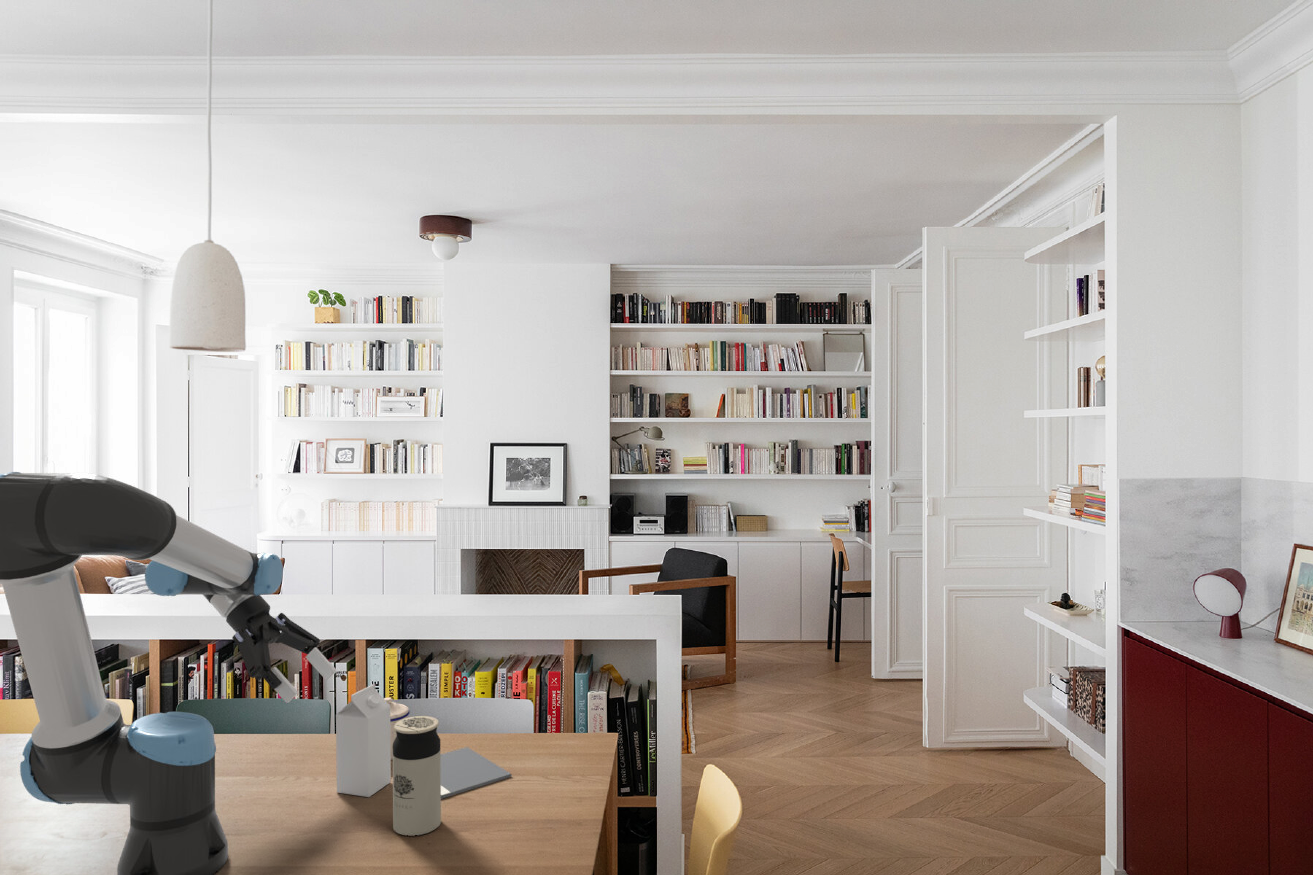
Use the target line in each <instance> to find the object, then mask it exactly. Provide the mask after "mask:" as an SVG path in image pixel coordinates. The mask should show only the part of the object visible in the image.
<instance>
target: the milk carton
mask: <svg viewBox="0 0 1313 875" xmlns="http://www.w3.org/2000/svg"><path fill="white" fill-rule="evenodd" d="M350 700H351V701H349V702H348V703H347V704H346V705H345V706H344V707H342V708H341V710H339V711H338V712H337V713H336V714H335V723H336V724H335V726H336V727H335V730H336V731H335V732H336V733H335V734H336V736H335V737H336V738H335V739H336V740H335V741H336V743H335V744H336V748H335V749H336V754H335V755H336V793H340V794H346V795H351V796H352V795H353V796H359V797H366V798H370V797H371V796H372V795H374V794H376V793H377V792H379V791H380V790H382V789H383V788H384V787H385V786H387V785H389V784H390V783H391V782H392V780H391V779H392V778H391V776H392V774H391V773H392V772H391V771H392V769H391V768H392V766H391V764H392V763H391V762H392V760H391V744H390V705H389V704H388V703H387V702H386V701H385V700H384V697H383V696H382V695H381V694H380V693H379V692H378V691H377V690H376V684H375V683H373V684H371V685H369V686H366V687H365V688H363V689H361V690H358V691H356V692H355V693H353V694H351V695H350Z"/></svg>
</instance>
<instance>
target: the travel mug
mask: <svg viewBox="0 0 1313 875" xmlns="http://www.w3.org/2000/svg"><path fill="white" fill-rule="evenodd" d="M439 725H440V722H439V720H438V719H437V718H435V717H433V716H427V715H421V716H419V715H418V716H417V715H416V716H410V717H409V716H408V718H405V719H402V720H400V721H398V722H397V723H396V724H395V725H394V729H395V730H396V734H397V737H396V738H395V740H394V742H393V760H392V828H393V831H394V832H395V833H397V834H400V835H403V836H407V835H408V836H409V837H414V836H415V835H417V836H421V835H425V834H428V833H431V832H432V831H434V830H436V829H437V828H438V827H440V825H441V822H442V821H441V820H442V812H441V811H442V802H441V801H442V799H441V755H440V754H441V737H440V736H439V734H438V732H437V730H438V727H439ZM415 837H416V836H415Z"/></svg>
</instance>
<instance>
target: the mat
mask: <svg viewBox="0 0 1313 875" xmlns="http://www.w3.org/2000/svg"><path fill="white" fill-rule="evenodd" d="M440 755H441V800H442V799H446V798H448V797H451V796H455V795H458V794H462V793H465V792H468V791H471V790H473V789H476V788H477V789H478V788H482V787H483V786H486V785H489V784H493V783H496V782H499V781H502V780H505V779H509V778H512V773H511V772H509V771H507V770H506V769H504V767H501V766H499V765H497V764H496V763H494V762H492V761H491V760H489V759H488V758H486V757H485V756H483V755H481V754H480V753H478V752H476V751H475V750H473V749H472V748H469V747H468V746H466V747H463V748H459V749H456V750H451V751H447V752H445V753H440Z"/></svg>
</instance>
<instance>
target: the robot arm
mask: <svg viewBox="0 0 1313 875" xmlns="http://www.w3.org/2000/svg"><path fill="white" fill-rule="evenodd" d="M83 556H115V557H117V556H118V557H123V558H126V559H129V560H131V561H146V560H151V561H150V562H149V563H148V564H147V567H146V568H145V572H144V581H145V584H146V586H147V589H149V591H150V592H151V593H153V594H154V595H157V596H161V597H169V596H170V597H175V596H180V595H202V596H203V597H204V598H205V599H206V600H207V602H208V603H209V604H211V605H212V606H213V608H215V610H216V611H217V613H218V614H220V616H221V617H222V618H225V621H226V623H227V624H228V625H229V626H230V627H231V628H232V629H233V631H234V632H235V634H233V636H232V640H233V642H234V643H235V644H236V645H237V647H238V649H239V653H240V654H241V657H242V659H243V660H242V661H243V663H244V666H245V668H246V671H247V673H248V676H249V677H250V678H251V679H254V678H255V680H257V681H261V680H262V679H264V681H265V682H266V683H267V685H268V686H270V687H271V688H272V689H273V690H274V691H276V693H277V694H278V695H279V697H281V699H282V700H283V701H284V702H285V703H286V704H289V703H290V702H291V701H292V700H293V699H294V698H295V697H296V696H297V695H298V694H299V691H298V690H297V689H296V688H295V687H294V686H293V684H292V683H291V682H290V681H289V680H288V679H287V678H286V677H285V675H284V674H283V673H282V672H281V671H280V670H279V669H278V668H277V666H274V667H273V668H272V662H271V656H270V647H269V644H274V643H275V644H283V645H285V646H287V647H290V648H291V649H295V650H297V651H298V652H300V653H304V654H306V656H305V658H306V660H307V661H308V662H309V664H311V665H312V667H314V669H316V670H317V672H318V673H319V674H320V675H321V676H322V678H323V679H324V680H325V681H326V682H327V681H329V680H330V679H331V678H332V677H333V676H334V675H335V674H336V673H337V672H338V670H337V669H336V667H334V665H333V664H332V663H331V662H330V661H329V660H328V659H327V657H326V656H325V655H324V654H323V653H322V652H321V650H319V648H318V646H319V645H320V644H321V639H320V638H318V637H317V636H315V635H314V634H312V633H311V632H310V631H308V630H306V628H304V627H302V626H300V625H299V624H297V623H295V622H294V621H293V620H291V619H289V618H288V616H287V615H286V614H285V613H283V612H280V613H279V614H278V615H277V616H276V617H274V616H272V615H271V614H270V610H271V606H270V604H269V603H268V602H267V600H265V599H264V598H263V597H262V595H267V596H268V595H272V594H274V593H276V591H278V590H279V588H280V586H281V584H282V581H283V575H284V574H283V573H284V566H283V563H282V560H281V558H280V557H279V556H278V555H276V554H275V553H274V554H273V553H265V552H261V553H255V552H251V551H250V550H249V551H248V550H247V549H244V548H243V547H242V546H239V545H237V544H235V543H233V542H230V541H229V540H227V539H225V538H223V537H220V536H219V535H217V534H215V533H213V532H211V531H209V530H208V529H205V528H203V527H201V526H199V525H197V524H195V523H193V522H192V521H189V520H188V519H185V518H183V517H182V516H180V515H177V512H176V511H175V509H174V507H173V506H172V505H171V504H170V503H168V502H167V501H165V500H163V499H161V498H160V497H157V496H156V495H154V494H151V493H149V492H147V491H145V490H143V489H140V488H139V487H138V488H137V487H136V486H133V485H131V484H128V483H125V482H123V481H119V480H117V479H114V478H110V477H107V476H104V475H100V474H94V473H87V472H86V473H83V472H81V473H80V472H75V473H69V472H68V473H63V472H62V473H57V472H56V473H53V472H52V473H51V472H50V473H48V472H45V473H43V472H42V473H41V472H38V473H37V472H35V473H34V472H33V473H32V472H31V473H30V472H29V473H28V472H19V471H10V472H8V473H0V585H2V588H3V593H4V594H5V595H4V596H5V599H6V604H7V606H8V610H9V614H10V617H11V621H12V624H13V628H14V632H15V635H16V639H17V642H18V646H19V649H20V653H21V657H22V661H23V664H24V668H25V671H26V675H27V678H28V682H29V685H30V689H31V693H32V696H33V700H34V704H35V708H36V711H37V714H38V718H39V722H38V723H37V724H36V725H35V727H34V728H33V730H32V732H31V737H30V738H29V739H28V741H27V742H26V743H25V746H24V749H23V752H22V754H21V755H22V756H23V757H24V759H23V760H22V761H21V762H20V765H19V772H20V778H21V782H22V783H23V787H24V788H25V790H26V791H27V792H28V794H29V795H31V796H32V797H33V798H34V799H36V800H39V801H42V802H46V803H47V802H48V803H54V804H58V805H73V804H98V805H99V804H100V805H102V804H104V805H105V804H107V805H108V804H109V805H128V806H129V814H130V816H129V817H130V821H129V826H130V827H129V831H128V834H127V836H126V840H125V842H124V846H123V848H122V852H121V854H120V857H119V860H118V862H117V867H116V868H117V870H116V872H117V875H214V874H215V873H217V872H218V871H219V870H221V869H222V868H223V866H224V865H225V864H226V863H227V860H228V858H229V844H228V839H227V836H226V834H225V832H224V829H223V826H222V824H221V821H220V819H219V817H218V814H217V810H216V751H217V746H216V742H215V733H214V727H213V725H212V724H211V723H210V721H209V720H208V719H207V718H205V717H204V716H202V715H200V714H196V713H192V712H186V711H185V712H183V711H168V712H164V713H163V712H156V713H151V714H147V715H145V716H141V717H138V719H136V720H134V721H133V722H132V723H131V724H126V723H124V718H123V714H122V710H121V707H120V705H119V704H118V703H117V702H116V701H114V700H110V699H107V698H106V697H107V696H106V694H105V689H104V686H103V682H102V678H101V674H100V670H99V666H98V661H97V657H96V653H95V649H94V646H93V642H92V637H91V634H90V629H89V626H88V625H89V624H88V622H87V617H86V613H85V609H84V605H83V600H82V597H81V594H80V589H79V585H78V581H77V576H76V572H75V569H74V566H75V565H76V563H77V562H79V560H80V559H81V558H82V557H83ZM216 871H217V872H216Z"/></svg>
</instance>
